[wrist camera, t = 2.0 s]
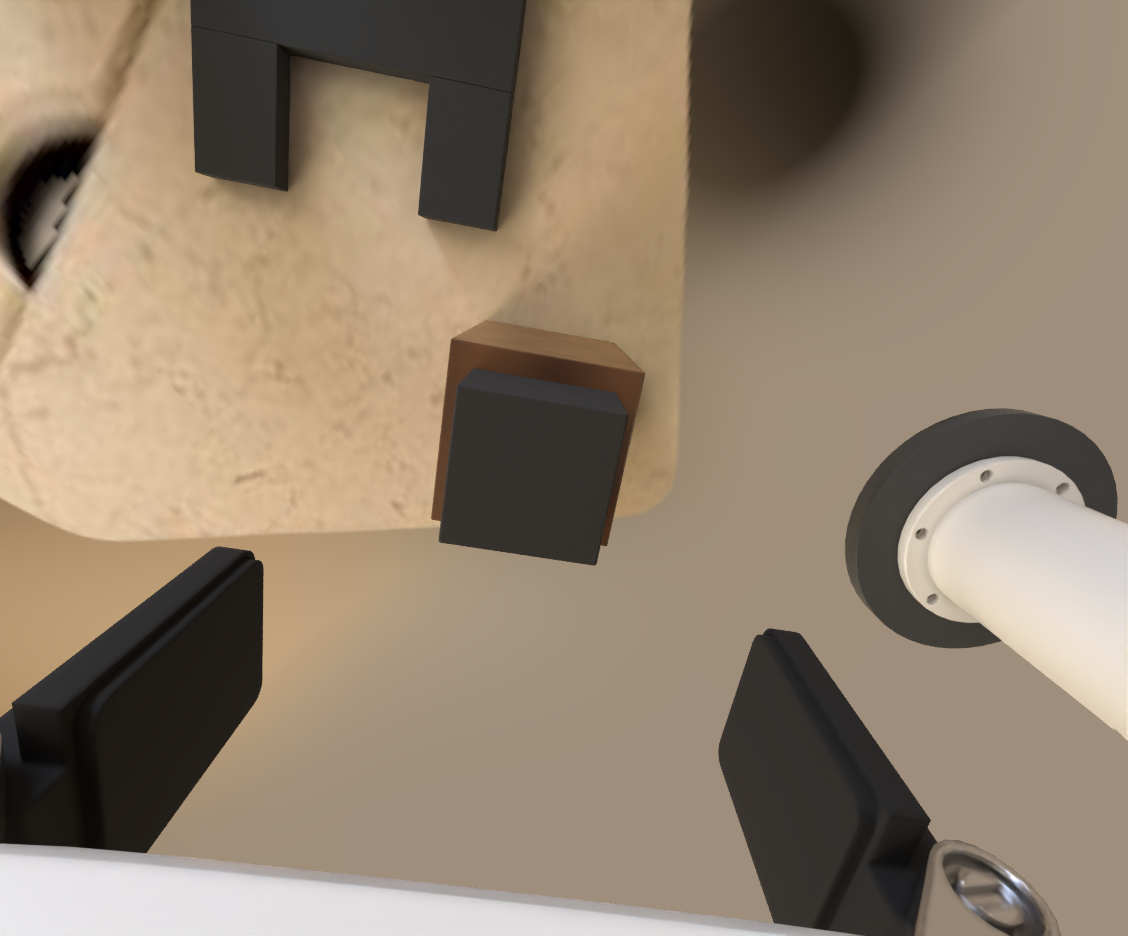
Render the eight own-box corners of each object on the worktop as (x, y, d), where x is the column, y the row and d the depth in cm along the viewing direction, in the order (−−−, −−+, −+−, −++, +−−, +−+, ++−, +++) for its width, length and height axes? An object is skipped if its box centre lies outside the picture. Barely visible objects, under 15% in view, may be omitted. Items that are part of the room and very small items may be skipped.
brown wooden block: (614, 343, 34) (645, 372, 23) (590, 465, 37) (607, 547, 25) (485, 319, 34) (450, 338, 22) (469, 445, 36) (430, 520, 25)
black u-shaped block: (534, -68, 28) (534, -87, 26) (496, 231, 32) (494, 229, 31) (205, -144, 27) (185, -168, 25) (211, 176, 31) (194, 172, 30)
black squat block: (616, 392, 23) (629, 414, 19) (589, 523, 25) (596, 566, 21) (472, 367, 23) (456, 384, 19) (455, 502, 24) (437, 543, 21)
